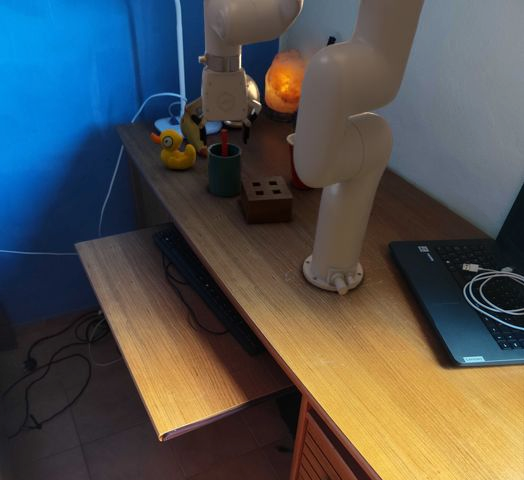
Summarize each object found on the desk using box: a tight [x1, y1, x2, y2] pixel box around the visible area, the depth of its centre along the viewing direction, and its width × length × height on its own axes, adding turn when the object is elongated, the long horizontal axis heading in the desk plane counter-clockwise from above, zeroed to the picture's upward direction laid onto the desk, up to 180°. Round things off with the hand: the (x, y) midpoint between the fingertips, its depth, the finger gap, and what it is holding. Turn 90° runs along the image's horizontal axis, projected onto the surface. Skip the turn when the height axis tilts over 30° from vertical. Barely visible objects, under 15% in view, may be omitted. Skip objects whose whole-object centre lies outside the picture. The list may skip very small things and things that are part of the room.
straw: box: [221, 128, 228, 157], centre depth 115 cm, size 1×1×14 cm
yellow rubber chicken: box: [179, 103, 208, 157], centre depth 133 cm, size 20×5×10 cm, turn 24°
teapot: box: [223, 73, 261, 129], centre depth 143 cm, size 18×14×16 cm
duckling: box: [150, 128, 197, 170], centre depth 123 cm, size 11×5×10 cm, turn 86°
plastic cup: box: [286, 133, 312, 190], centre depth 119 cm, size 11×11×12 cm
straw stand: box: [240, 175, 294, 225], centre depth 111 cm, size 10×10×6 cm
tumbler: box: [207, 142, 243, 198], centre depth 116 cm, size 8×8×10 cm
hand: (224, 142), depth 111 cm, fingers open, 9 cm apart
